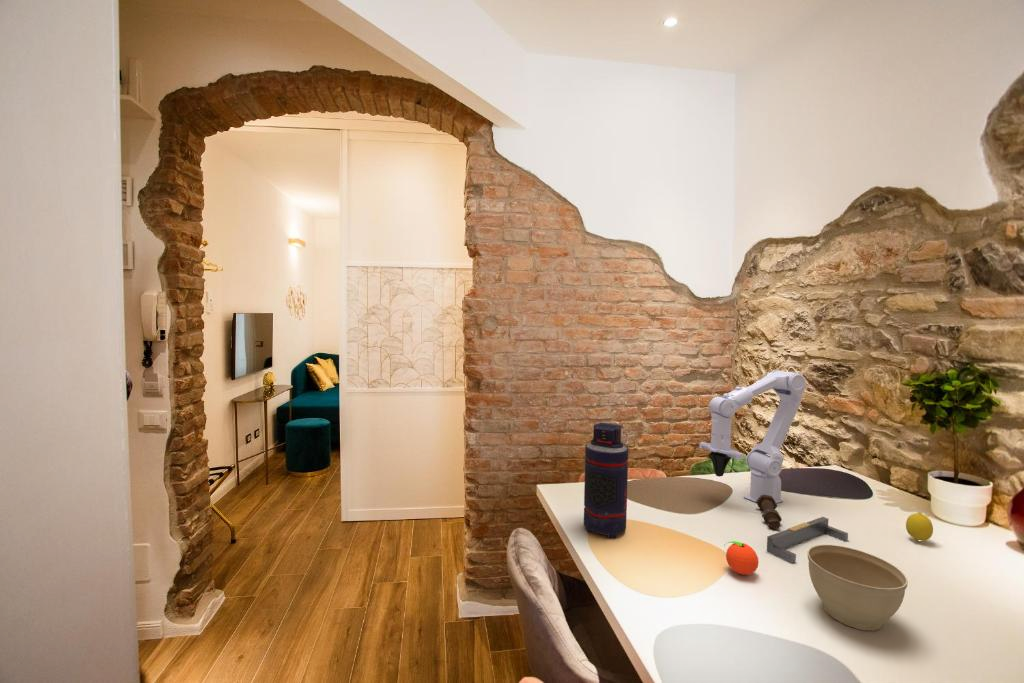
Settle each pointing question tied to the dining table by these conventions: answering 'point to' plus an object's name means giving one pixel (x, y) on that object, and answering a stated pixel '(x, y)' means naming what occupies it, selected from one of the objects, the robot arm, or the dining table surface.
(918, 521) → the lemon
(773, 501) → the bolt
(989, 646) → the dining table surface
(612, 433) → the grenade
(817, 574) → the planter bowl
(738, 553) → the orange-red round fruit
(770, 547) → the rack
